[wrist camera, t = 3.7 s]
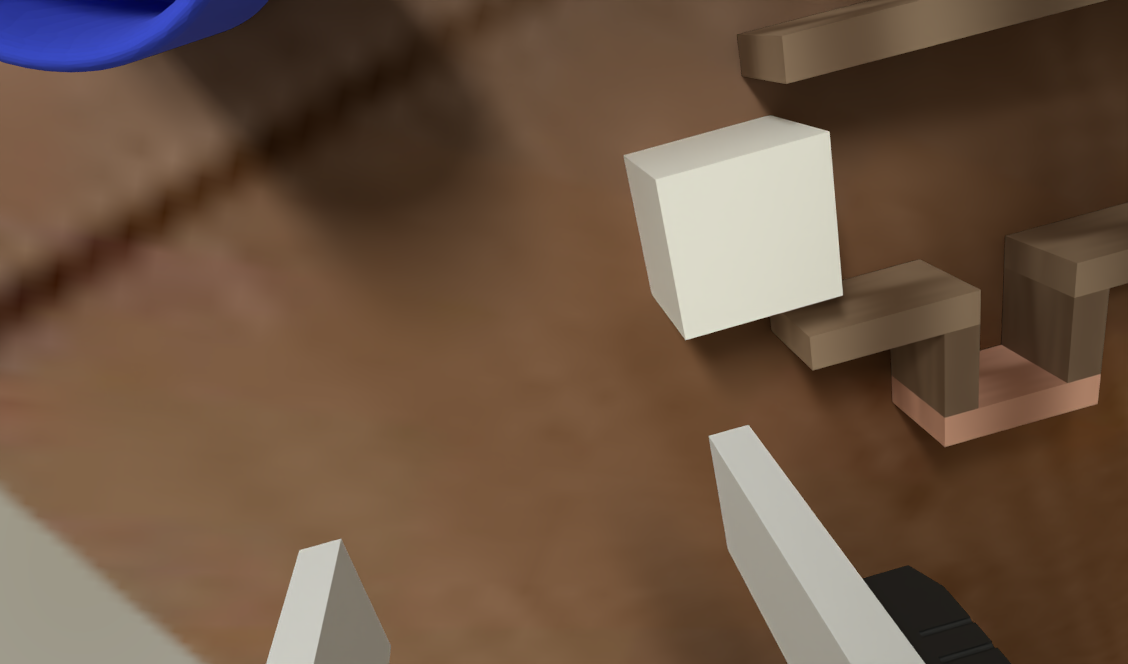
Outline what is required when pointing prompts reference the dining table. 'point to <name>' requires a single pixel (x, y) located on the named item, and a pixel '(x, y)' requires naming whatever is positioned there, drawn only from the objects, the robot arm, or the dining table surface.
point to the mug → (109, 29)
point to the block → (738, 223)
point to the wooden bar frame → (933, 297)
